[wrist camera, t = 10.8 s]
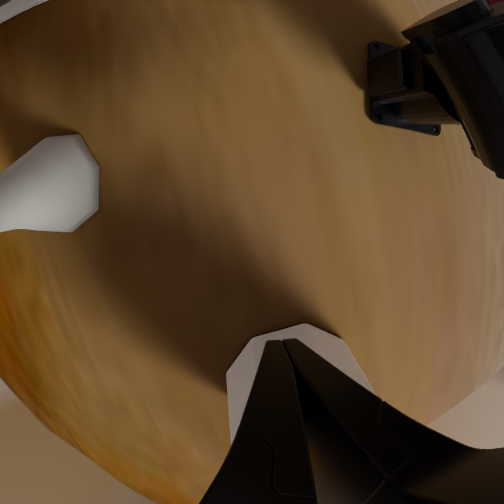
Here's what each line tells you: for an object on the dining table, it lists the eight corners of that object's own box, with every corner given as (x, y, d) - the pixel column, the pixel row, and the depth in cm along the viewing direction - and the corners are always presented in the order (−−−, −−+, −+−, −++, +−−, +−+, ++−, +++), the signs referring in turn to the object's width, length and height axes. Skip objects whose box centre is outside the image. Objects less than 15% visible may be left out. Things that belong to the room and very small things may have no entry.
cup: (220, 411, 25) (235, 591, 8) (233, 317, 22) (271, 584, 4) (327, 409, 27) (386, 559, 10) (364, 323, 23) (486, 499, 6)
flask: (15, 155, 16) (-80, 174, 6) (90, 117, 16) (-6, 103, 6) (39, 243, 18) (-43, 304, 9) (115, 217, 18) (37, 278, 9)
